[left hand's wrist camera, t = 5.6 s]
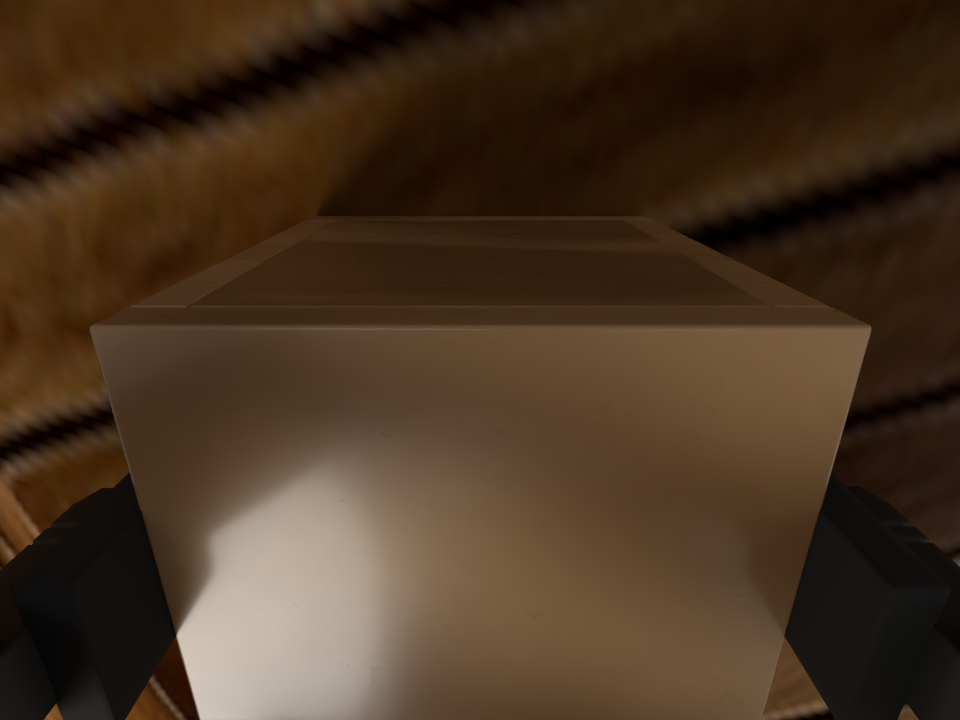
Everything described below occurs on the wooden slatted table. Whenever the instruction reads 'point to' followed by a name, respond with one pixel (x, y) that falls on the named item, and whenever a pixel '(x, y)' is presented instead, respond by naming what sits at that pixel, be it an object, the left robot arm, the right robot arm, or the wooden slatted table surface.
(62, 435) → the wooden slatted table surface
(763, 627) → the cabinet
